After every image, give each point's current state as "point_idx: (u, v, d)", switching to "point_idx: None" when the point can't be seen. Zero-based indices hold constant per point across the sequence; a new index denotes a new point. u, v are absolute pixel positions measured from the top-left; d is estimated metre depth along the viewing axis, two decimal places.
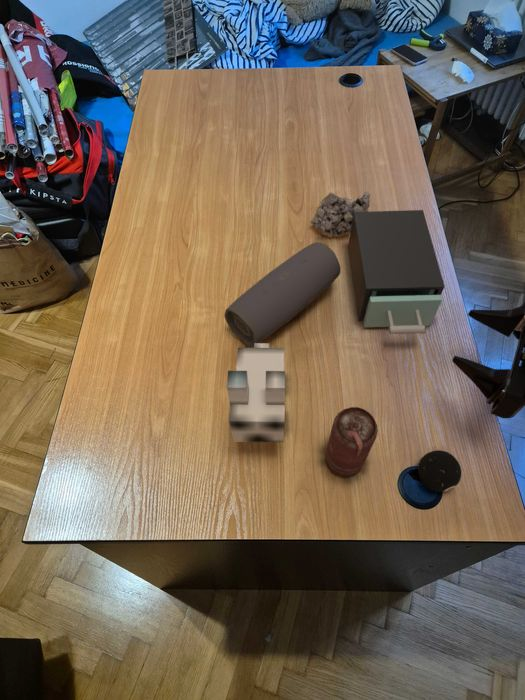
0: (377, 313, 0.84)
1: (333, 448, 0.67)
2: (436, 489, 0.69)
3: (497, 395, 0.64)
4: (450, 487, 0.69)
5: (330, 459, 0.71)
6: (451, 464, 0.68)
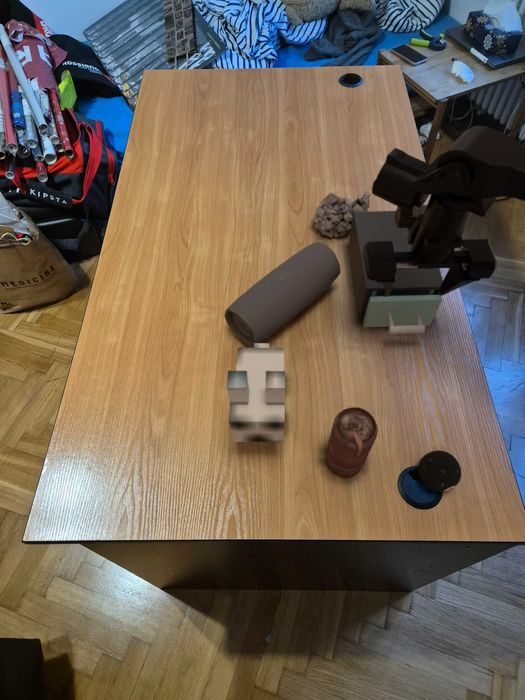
0: (377, 313, 0.84)
1: (333, 448, 0.67)
2: (436, 489, 0.69)
3: None
4: (450, 487, 0.69)
5: (330, 459, 0.71)
6: (451, 464, 0.68)
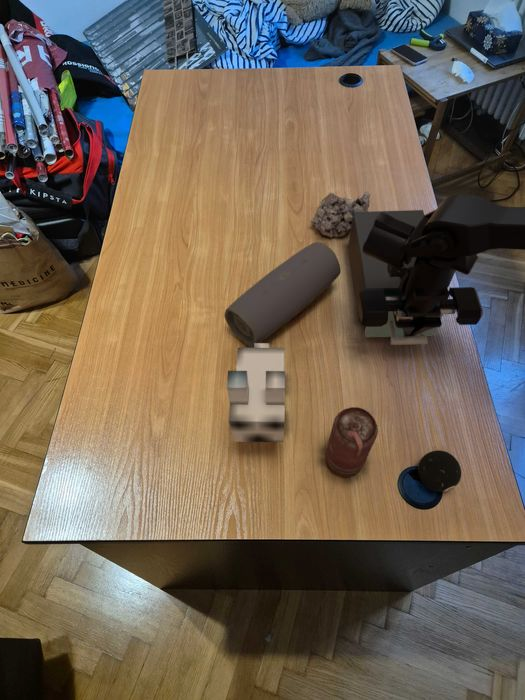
0: None
1: (333, 448, 0.67)
2: (436, 489, 0.69)
3: (393, 311, 0.76)
4: (450, 487, 0.69)
5: (330, 459, 0.71)
6: (451, 464, 0.68)
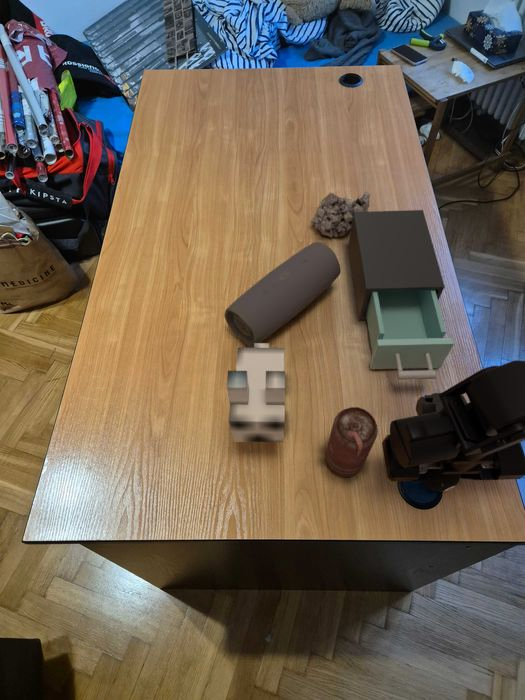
0: (384, 356, 0.79)
1: (333, 448, 0.67)
2: (436, 489, 0.69)
3: None
4: (450, 487, 0.69)
5: (330, 459, 0.71)
6: None
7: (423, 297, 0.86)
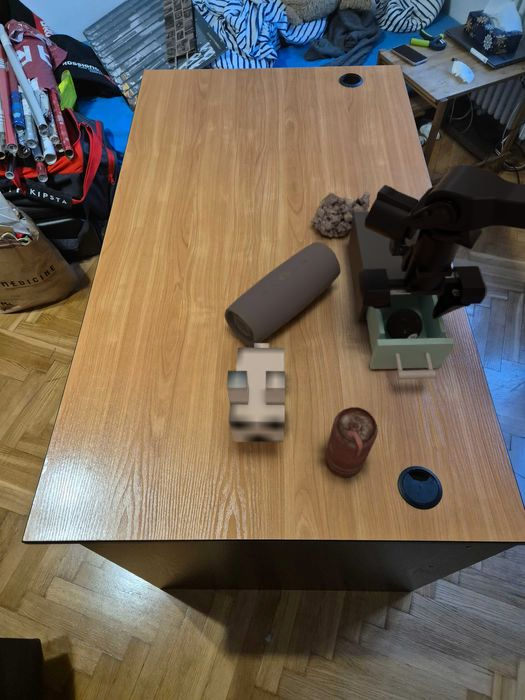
0: (384, 355, 0.79)
1: (333, 448, 0.67)
2: (400, 337, 0.81)
3: None
4: (412, 334, 0.80)
5: (330, 459, 0.71)
6: (412, 315, 0.80)
7: (423, 297, 0.87)
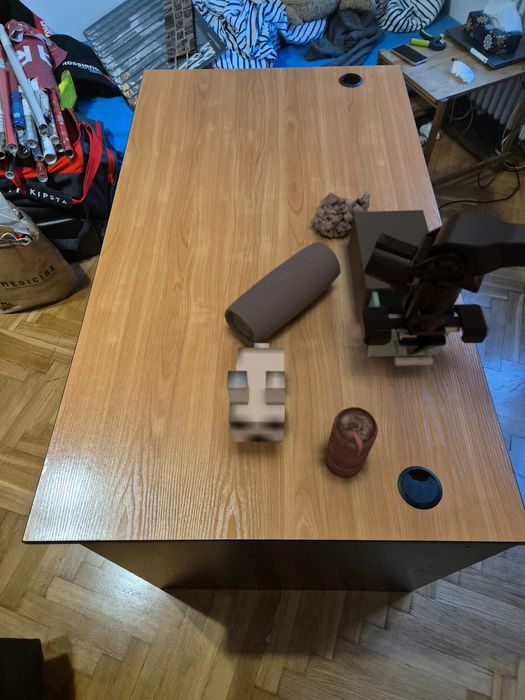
0: None
1: (333, 448, 0.67)
2: None
3: (396, 329, 0.74)
4: None
5: (330, 459, 0.71)
6: None
7: None
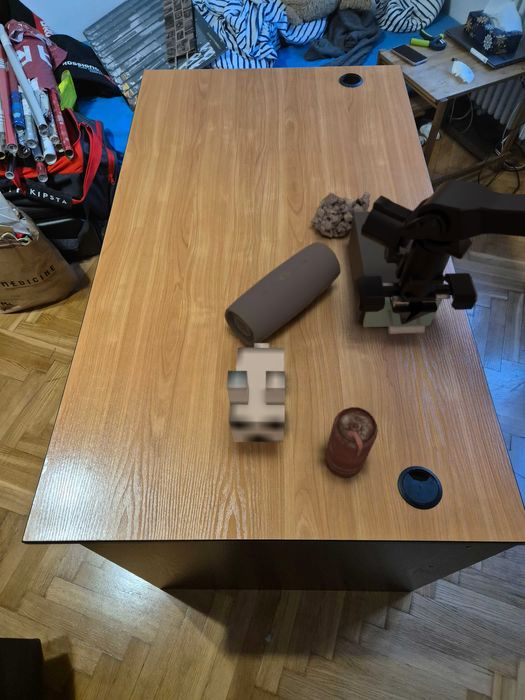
0: (377, 313, 0.84)
1: (333, 448, 0.67)
2: None
3: (389, 297, 0.78)
4: None
5: (330, 459, 0.71)
6: None
7: None
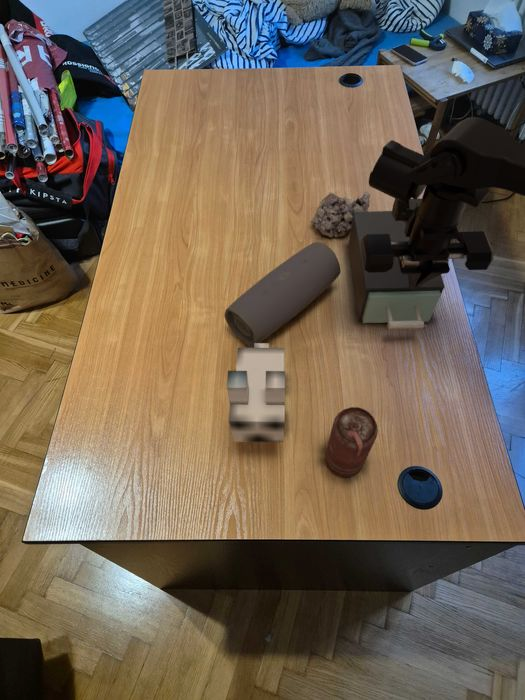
0: (376, 308, 0.85)
1: (333, 448, 0.67)
2: None
3: (398, 257, 0.72)
4: None
5: (330, 459, 0.71)
6: None
7: None
